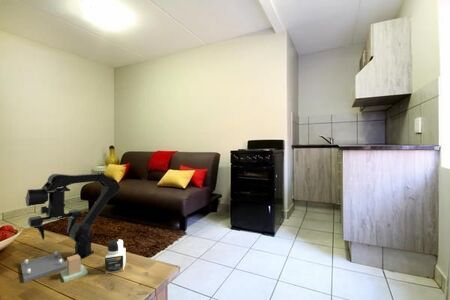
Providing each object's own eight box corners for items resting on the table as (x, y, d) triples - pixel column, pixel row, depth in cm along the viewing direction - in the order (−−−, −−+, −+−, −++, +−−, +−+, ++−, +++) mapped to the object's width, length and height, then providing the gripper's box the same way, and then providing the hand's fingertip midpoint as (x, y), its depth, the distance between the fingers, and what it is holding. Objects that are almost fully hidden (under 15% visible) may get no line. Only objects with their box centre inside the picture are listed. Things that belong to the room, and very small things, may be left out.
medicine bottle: (104, 273, 93) (104, 245, 92) (108, 265, 99) (108, 238, 99) (123, 271, 95) (123, 243, 94) (125, 262, 101) (125, 236, 101)
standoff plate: (67, 268, 97) (66, 261, 97) (24, 282, 87) (23, 274, 87) (59, 254, 109) (59, 247, 109) (20, 265, 99) (20, 258, 99)
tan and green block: (87, 274, 93) (87, 257, 93) (64, 282, 87) (64, 264, 87) (82, 266, 98) (82, 250, 98) (60, 274, 93) (60, 257, 92)
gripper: (74, 196, 112) (74, 226, 112) (25, 202, 98) (25, 237, 98) (82, 199, 105) (82, 232, 105) (31, 207, 91) (30, 244, 91)
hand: (56, 236), depth 100 cm, fingers open, 9 cm apart
